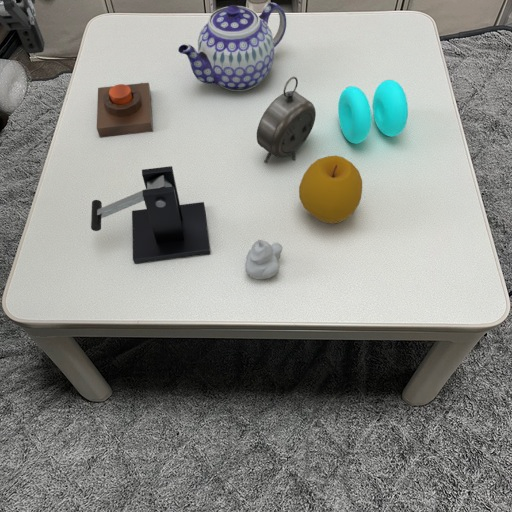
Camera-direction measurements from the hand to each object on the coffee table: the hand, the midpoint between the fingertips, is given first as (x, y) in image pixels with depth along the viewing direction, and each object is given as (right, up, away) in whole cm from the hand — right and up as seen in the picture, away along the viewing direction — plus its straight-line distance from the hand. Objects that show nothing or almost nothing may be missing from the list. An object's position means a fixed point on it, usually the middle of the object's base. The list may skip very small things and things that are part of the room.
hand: (36, 49), depth 64 cm
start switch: (+2, +2, +37) cm, 37 cm away
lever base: (+14, -22, +20) cm, 33 cm away
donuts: (+48, -3, +33) cm, 59 cm away
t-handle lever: (+9, -18, +13) cm, 24 cm away
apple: (+39, -19, +22) cm, 49 cm away
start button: (+2, +4, +34) cm, 34 cm away
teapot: (+23, +11, +43) cm, 50 cm away
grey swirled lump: (+29, -28, +16) cm, 43 cm away
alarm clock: (+33, -7, +30) cm, 45 cm away
